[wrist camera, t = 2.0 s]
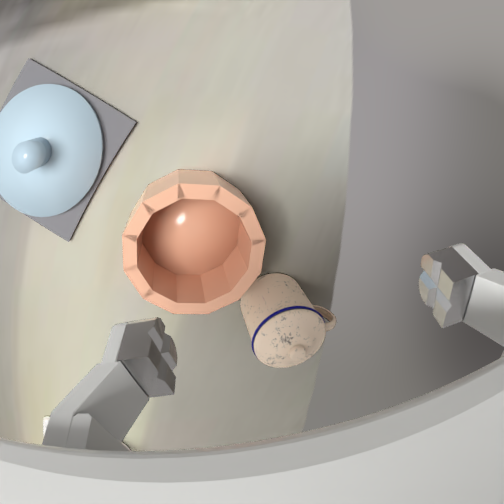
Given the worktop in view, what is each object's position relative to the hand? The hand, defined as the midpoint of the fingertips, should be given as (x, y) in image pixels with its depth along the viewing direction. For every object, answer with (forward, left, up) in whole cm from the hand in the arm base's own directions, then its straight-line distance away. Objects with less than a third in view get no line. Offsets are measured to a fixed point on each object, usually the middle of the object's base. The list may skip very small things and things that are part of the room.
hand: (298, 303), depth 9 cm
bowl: (-8, -3, -28) cm, 30 cm away
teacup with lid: (-10, -19, -28) cm, 36 cm away
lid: (-9, +17, -28) cm, 34 cm away
